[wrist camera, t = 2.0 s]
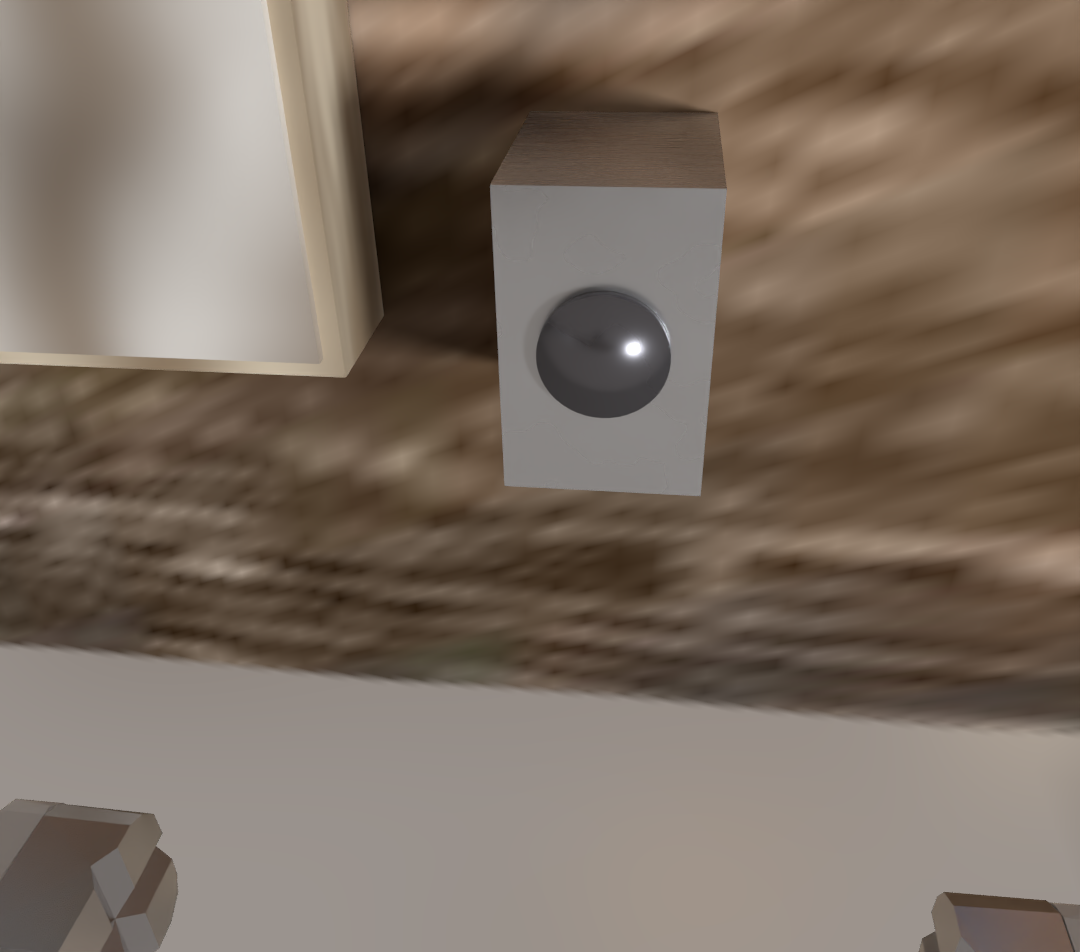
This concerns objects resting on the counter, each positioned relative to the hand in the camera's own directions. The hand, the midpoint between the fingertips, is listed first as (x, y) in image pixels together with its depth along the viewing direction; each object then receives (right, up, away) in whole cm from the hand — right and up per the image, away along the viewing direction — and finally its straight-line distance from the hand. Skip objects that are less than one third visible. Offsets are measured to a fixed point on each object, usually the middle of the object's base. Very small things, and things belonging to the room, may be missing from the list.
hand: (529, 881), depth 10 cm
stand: (-10, +14, +14) cm, 22 cm away
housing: (+2, +10, +15) cm, 18 cm away
